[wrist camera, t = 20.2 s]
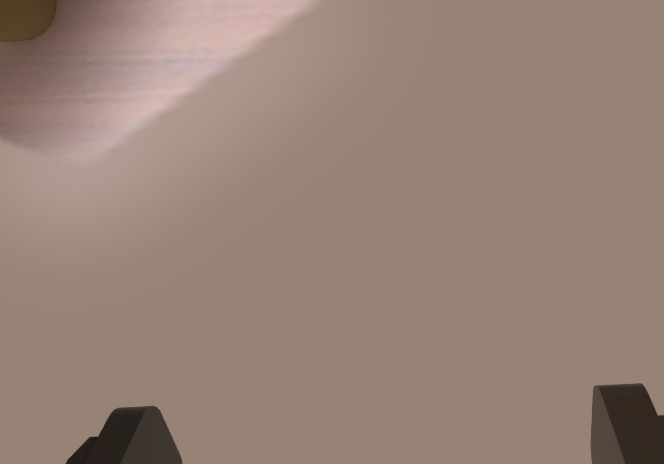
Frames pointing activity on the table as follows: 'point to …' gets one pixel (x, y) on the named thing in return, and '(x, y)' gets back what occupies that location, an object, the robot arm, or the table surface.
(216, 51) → the table surface
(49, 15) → the cork
